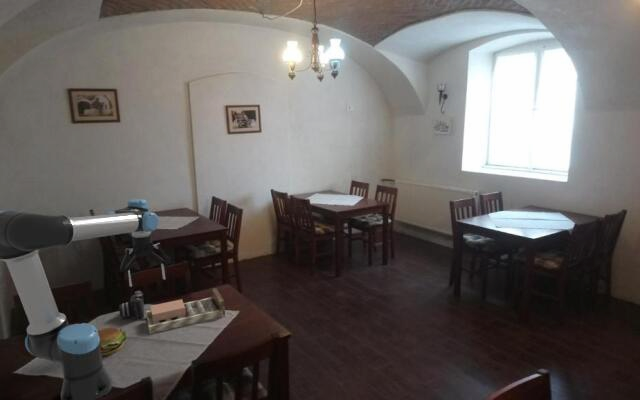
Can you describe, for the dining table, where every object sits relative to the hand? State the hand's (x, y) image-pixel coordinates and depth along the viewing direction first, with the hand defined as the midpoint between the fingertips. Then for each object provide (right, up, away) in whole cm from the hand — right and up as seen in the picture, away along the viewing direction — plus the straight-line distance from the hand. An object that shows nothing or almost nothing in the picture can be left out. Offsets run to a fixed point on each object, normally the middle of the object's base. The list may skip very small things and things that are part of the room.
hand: (147, 282), depth 180 cm
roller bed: (+12, -19, +13) cm, 26 cm away
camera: (-14, -19, +17) cm, 30 cm away
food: (-11, -25, -12) cm, 30 cm away
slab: (+6, -17, +10) cm, 20 cm away
